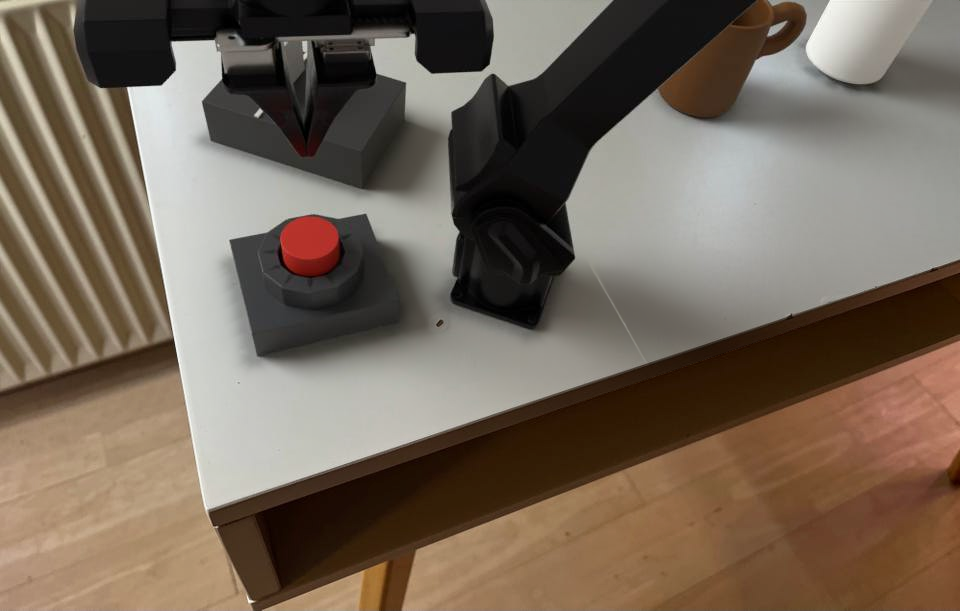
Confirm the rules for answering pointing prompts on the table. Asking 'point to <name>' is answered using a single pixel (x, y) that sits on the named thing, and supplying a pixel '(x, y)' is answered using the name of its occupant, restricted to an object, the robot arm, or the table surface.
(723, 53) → the mug
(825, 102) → the table surface
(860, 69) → the beverage can
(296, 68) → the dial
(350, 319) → the push button box
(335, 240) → the stop button
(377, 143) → the slider switch box
